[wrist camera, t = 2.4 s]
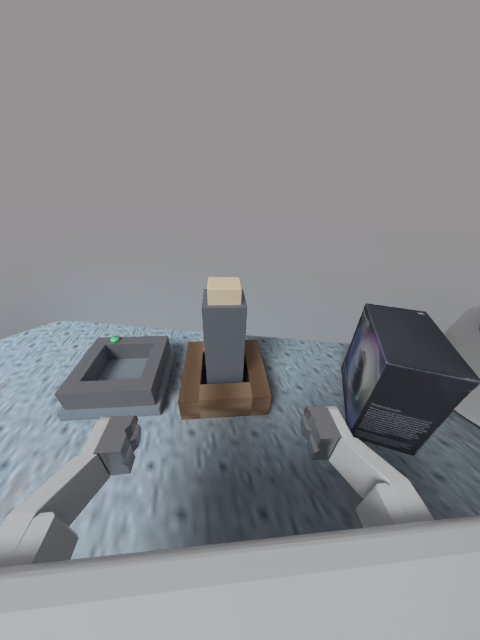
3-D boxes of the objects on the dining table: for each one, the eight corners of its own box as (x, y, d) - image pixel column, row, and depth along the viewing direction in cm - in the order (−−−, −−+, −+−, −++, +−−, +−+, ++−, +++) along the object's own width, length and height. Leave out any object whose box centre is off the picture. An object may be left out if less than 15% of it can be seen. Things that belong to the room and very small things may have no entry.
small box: (337, 366, 30) (362, 300, 25) (388, 378, 29) (428, 310, 23) (343, 436, 22) (384, 359, 16) (417, 458, 20) (490, 382, 15)
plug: (239, 370, 29) (243, 275, 22) (241, 395, 26) (247, 292, 18) (209, 371, 29) (203, 275, 21) (208, 397, 25) (200, 292, 18)
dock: (175, 353, 32) (172, 331, 29) (160, 414, 23) (154, 390, 21) (103, 355, 31) (94, 333, 28) (60, 420, 22) (43, 396, 20)
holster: (255, 356, 32) (257, 340, 30) (268, 414, 24) (271, 396, 22) (190, 358, 31) (188, 341, 29) (181, 419, 23) (178, 401, 21)
